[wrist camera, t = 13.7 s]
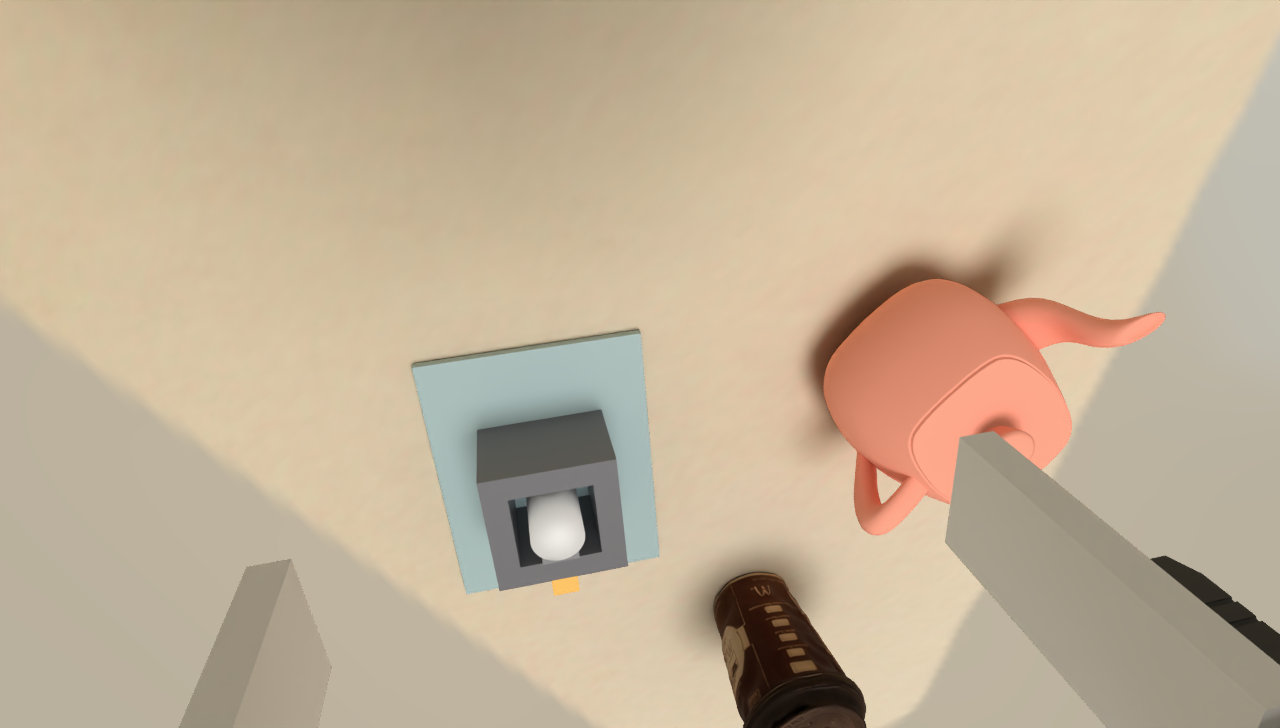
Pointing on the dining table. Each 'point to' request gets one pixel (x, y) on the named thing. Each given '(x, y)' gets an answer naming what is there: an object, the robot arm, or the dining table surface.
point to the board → (531, 391)
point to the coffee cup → (781, 660)
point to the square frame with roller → (545, 465)
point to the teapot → (953, 386)
